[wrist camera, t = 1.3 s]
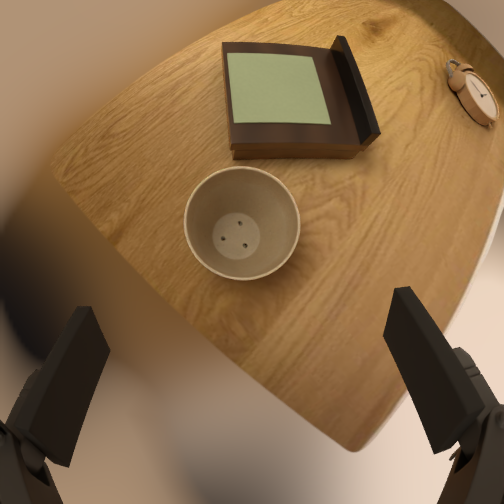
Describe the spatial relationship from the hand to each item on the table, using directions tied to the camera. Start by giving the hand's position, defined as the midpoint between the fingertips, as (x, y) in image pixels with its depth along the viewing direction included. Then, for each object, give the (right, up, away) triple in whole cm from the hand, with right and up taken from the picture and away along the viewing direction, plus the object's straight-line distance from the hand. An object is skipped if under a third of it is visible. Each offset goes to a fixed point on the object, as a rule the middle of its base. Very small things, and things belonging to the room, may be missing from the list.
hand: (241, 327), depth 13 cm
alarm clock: (+43, +34, +32) cm, 64 cm away
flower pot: (-1, +5, +21) cm, 21 cm away
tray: (+5, +22, +24) cm, 33 cm away
